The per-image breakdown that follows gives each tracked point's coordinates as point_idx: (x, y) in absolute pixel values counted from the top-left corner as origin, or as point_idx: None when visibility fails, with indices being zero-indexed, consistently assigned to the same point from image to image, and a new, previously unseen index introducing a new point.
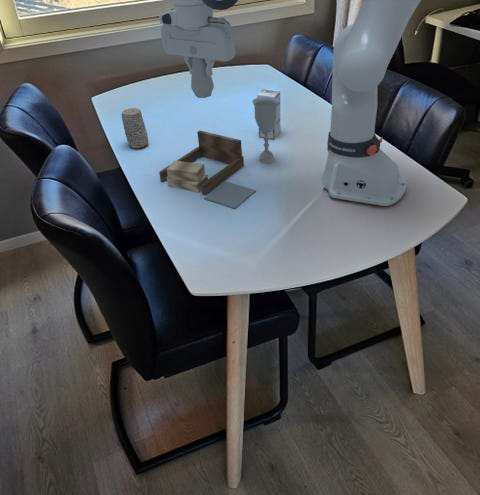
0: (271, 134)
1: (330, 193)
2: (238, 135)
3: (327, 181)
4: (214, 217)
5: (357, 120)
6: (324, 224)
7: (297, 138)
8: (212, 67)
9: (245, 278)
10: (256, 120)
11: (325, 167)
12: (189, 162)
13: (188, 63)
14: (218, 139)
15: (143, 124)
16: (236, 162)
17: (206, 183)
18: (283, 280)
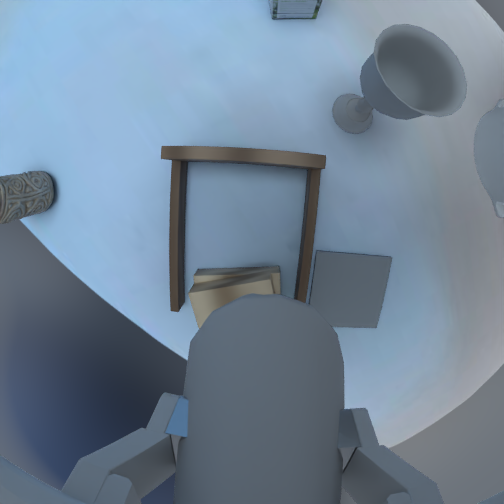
0: (309, 13)
1: (498, 214)
2: (214, 27)
3: (496, 193)
4: (350, 359)
5: None
6: (496, 296)
7: (359, 3)
8: (388, 450)
9: (423, 420)
10: (378, 109)
11: (495, 164)
12: (230, 287)
13: (147, 492)
14: (245, 161)
15: (21, 188)
16: (318, 192)
17: None
18: (458, 402)
